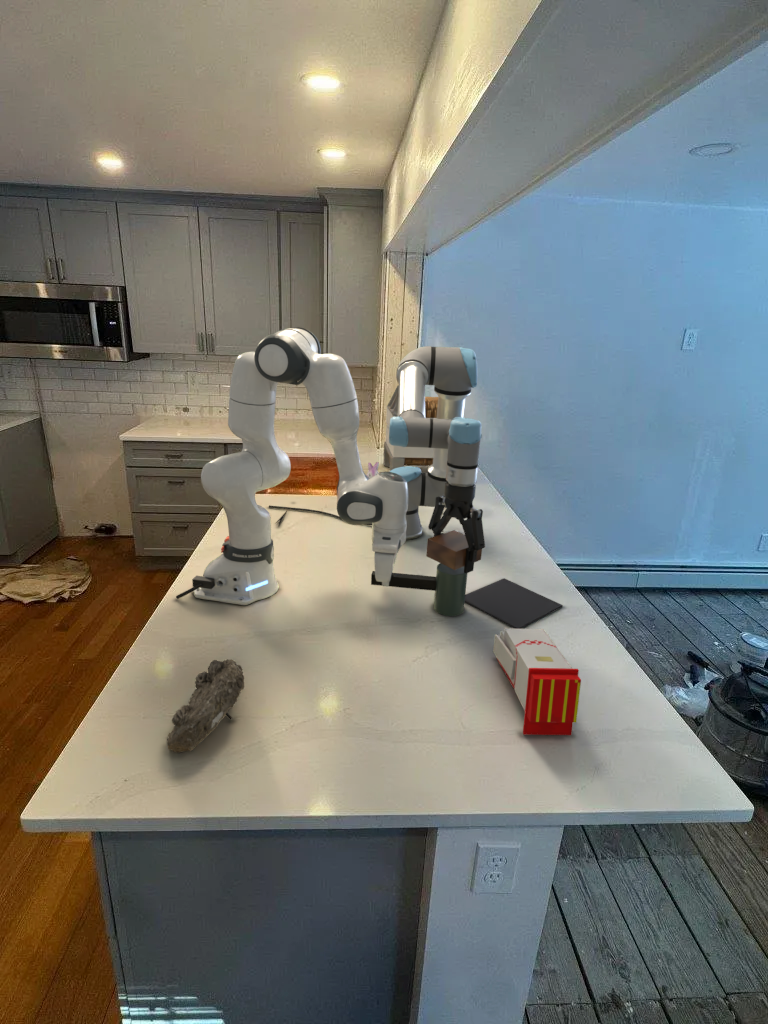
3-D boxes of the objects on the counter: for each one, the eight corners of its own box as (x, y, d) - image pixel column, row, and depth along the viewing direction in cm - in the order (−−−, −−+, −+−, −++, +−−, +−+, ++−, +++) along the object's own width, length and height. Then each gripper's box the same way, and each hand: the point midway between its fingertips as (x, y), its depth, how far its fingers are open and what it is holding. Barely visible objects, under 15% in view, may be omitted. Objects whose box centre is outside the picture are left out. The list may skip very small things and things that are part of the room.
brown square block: (426, 556, 147) (427, 538, 145) (452, 547, 153) (454, 529, 151) (454, 570, 140) (456, 551, 138) (481, 559, 146) (482, 542, 144)
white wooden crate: (382, 463, 289) (386, 382, 275) (445, 464, 293) (451, 384, 279) (390, 482, 257) (394, 392, 243) (460, 483, 261) (468, 394, 247)
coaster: (458, 599, 156) (458, 597, 156) (503, 580, 169) (504, 578, 169) (517, 630, 142) (518, 628, 142) (562, 607, 155) (562, 605, 155)
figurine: (369, 502, 230) (370, 466, 225) (359, 494, 239) (360, 460, 234) (390, 499, 234) (391, 464, 229) (378, 492, 243) (380, 458, 238)
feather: (294, 505, 227) (296, 501, 226) (277, 528, 200) (280, 524, 199) (290, 503, 226) (292, 499, 226) (273, 526, 200) (276, 521, 199)
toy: (540, 612, 132) (590, 675, 102) (535, 665, 134) (582, 742, 105) (489, 611, 131) (523, 674, 102) (484, 665, 134) (517, 741, 105)
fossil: (192, 660, 117) (244, 628, 112) (224, 691, 120) (276, 661, 115) (142, 746, 98) (202, 712, 93) (182, 779, 101) (242, 748, 96)
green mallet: (463, 602, 155) (467, 562, 151) (463, 617, 147) (467, 576, 143) (373, 594, 157) (374, 554, 153) (368, 608, 150) (370, 567, 146)
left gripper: (382, 519, 156) (380, 564, 161) (371, 548, 137) (369, 598, 142) (404, 521, 156) (402, 566, 160) (397, 550, 137) (394, 601, 141)
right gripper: (417, 473, 145) (412, 552, 153) (486, 497, 129) (476, 584, 137) (438, 469, 150) (432, 546, 157) (507, 491, 134) (496, 576, 142)
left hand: (386, 582), depth 151 cm, fingers closed on green mallet, 2 cm apart
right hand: (453, 564), depth 147 cm, fingers closed on brown square block, 10 cm apart
